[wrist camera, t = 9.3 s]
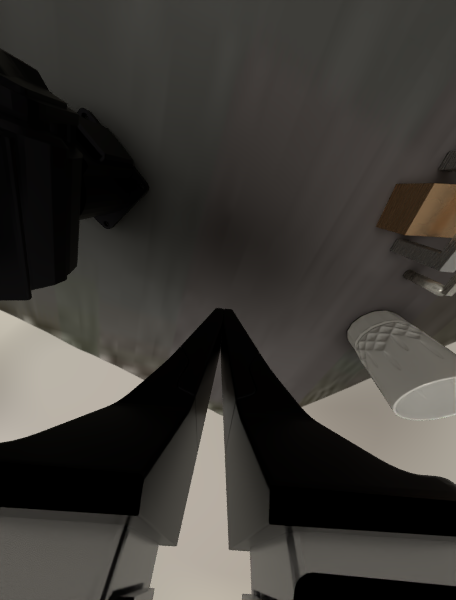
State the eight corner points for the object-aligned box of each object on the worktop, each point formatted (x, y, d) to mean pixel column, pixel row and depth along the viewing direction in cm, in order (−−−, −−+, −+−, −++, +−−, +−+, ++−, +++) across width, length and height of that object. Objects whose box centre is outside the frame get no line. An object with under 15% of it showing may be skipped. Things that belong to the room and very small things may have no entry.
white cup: (379, 296, 22) (468, 364, 14) (417, 322, 24) (514, 395, 16) (330, 335, 26) (376, 406, 17) (365, 354, 28) (422, 427, 19)
